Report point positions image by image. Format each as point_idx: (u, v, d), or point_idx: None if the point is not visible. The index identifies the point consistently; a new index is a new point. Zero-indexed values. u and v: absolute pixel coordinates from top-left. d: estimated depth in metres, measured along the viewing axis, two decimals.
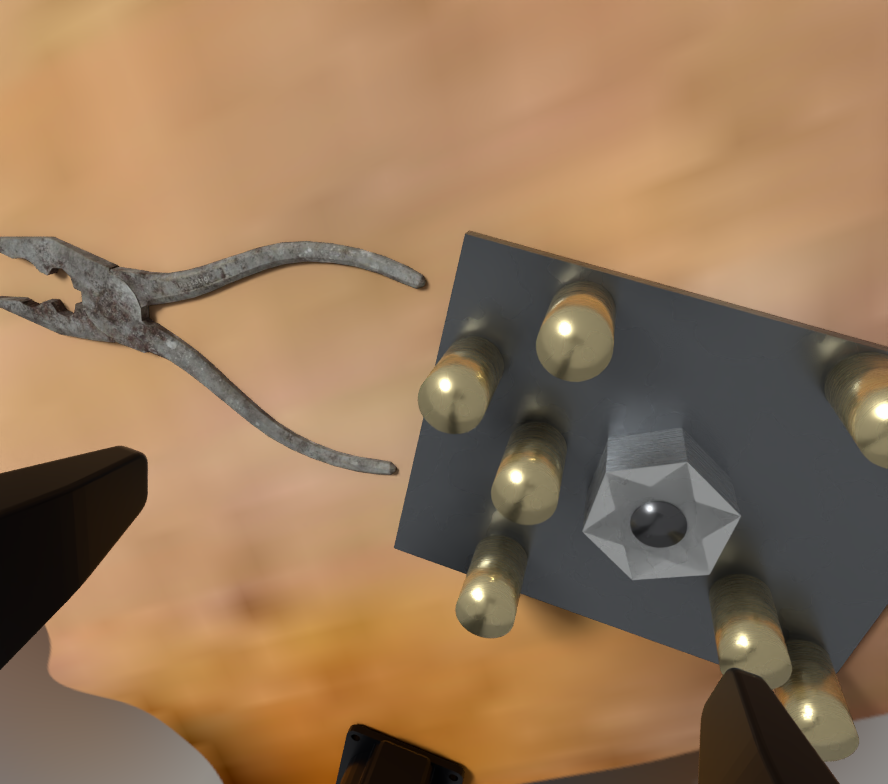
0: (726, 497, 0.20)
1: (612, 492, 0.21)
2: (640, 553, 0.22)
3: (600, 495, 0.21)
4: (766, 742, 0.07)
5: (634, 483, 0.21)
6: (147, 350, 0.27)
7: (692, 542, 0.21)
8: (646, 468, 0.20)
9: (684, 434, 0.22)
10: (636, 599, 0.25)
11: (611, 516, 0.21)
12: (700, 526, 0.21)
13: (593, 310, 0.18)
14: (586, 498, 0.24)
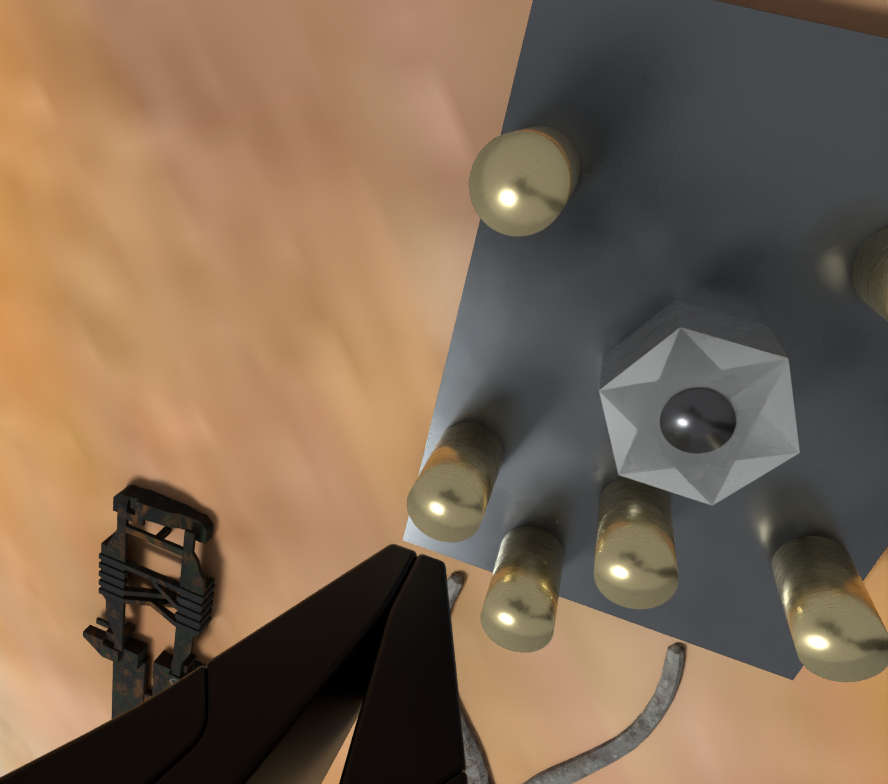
0: (658, 339, 0.16)
1: (648, 470, 0.17)
2: (749, 442, 0.16)
3: (652, 482, 0.17)
4: (399, 604, 0.08)
5: (633, 446, 0.17)
6: None
7: (730, 379, 0.15)
8: (610, 433, 0.17)
9: (604, 360, 0.18)
10: None
11: (686, 472, 0.17)
12: (699, 373, 0.16)
13: None
14: None
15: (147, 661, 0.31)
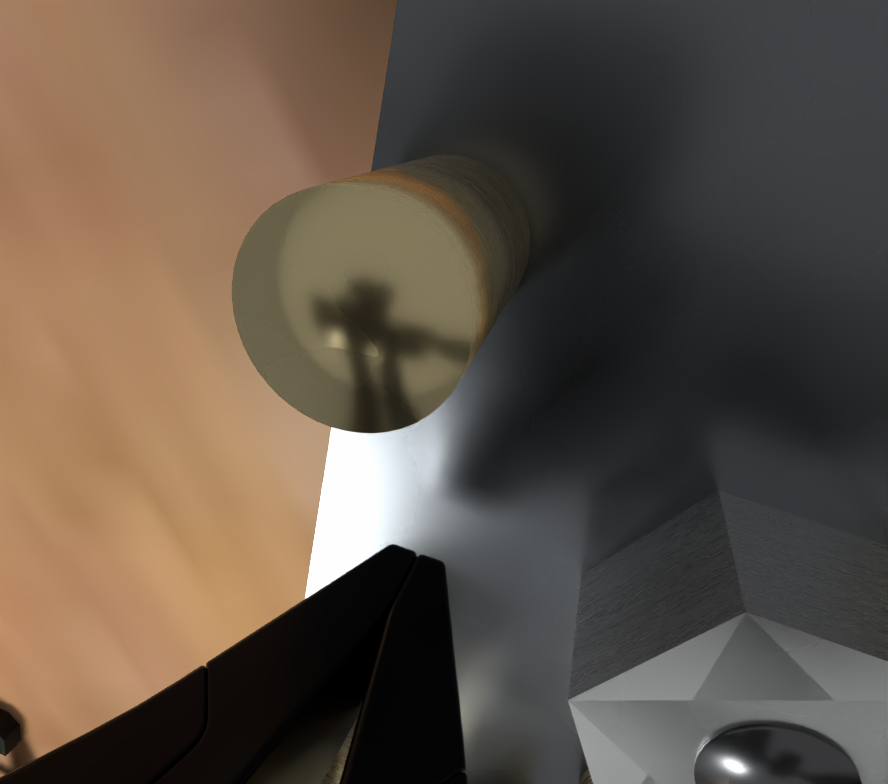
0: (693, 616, 0.07)
1: None
2: None
3: None
4: (399, 604, 0.08)
5: None
6: None
7: (853, 715, 0.07)
8: (592, 772, 0.08)
9: (583, 588, 0.10)
10: None
11: None
12: (784, 699, 0.07)
13: None
14: None
15: None
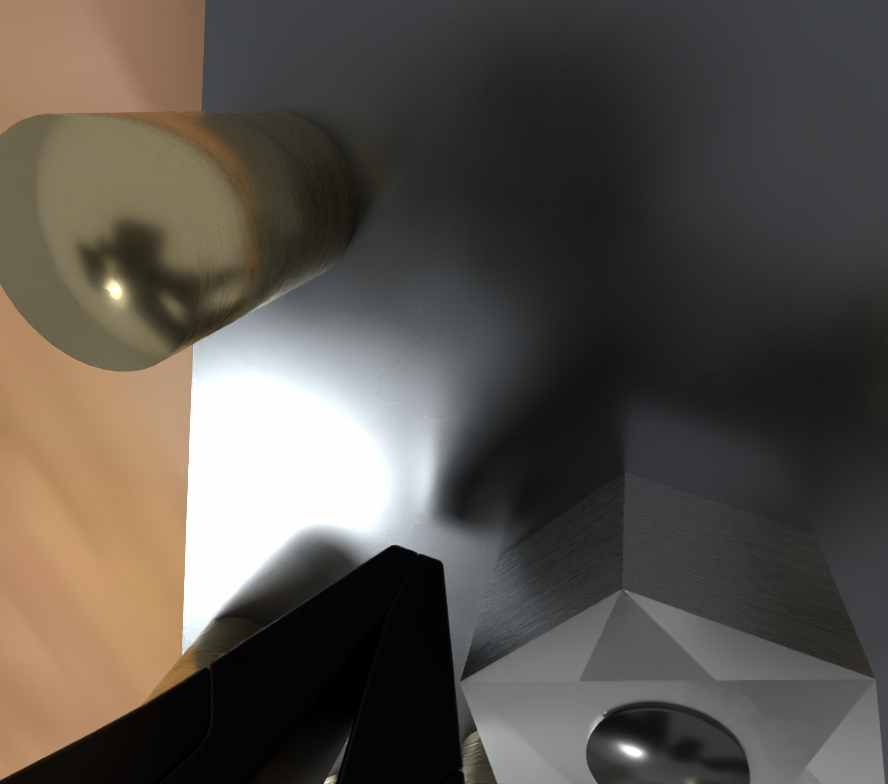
0: (578, 595, 0.07)
1: None
2: None
3: None
4: (397, 603, 0.08)
5: (537, 783, 0.08)
6: None
7: (738, 695, 0.07)
8: (489, 756, 0.08)
9: (495, 572, 0.10)
10: None
11: None
12: (667, 679, 0.07)
13: None
14: None
15: None
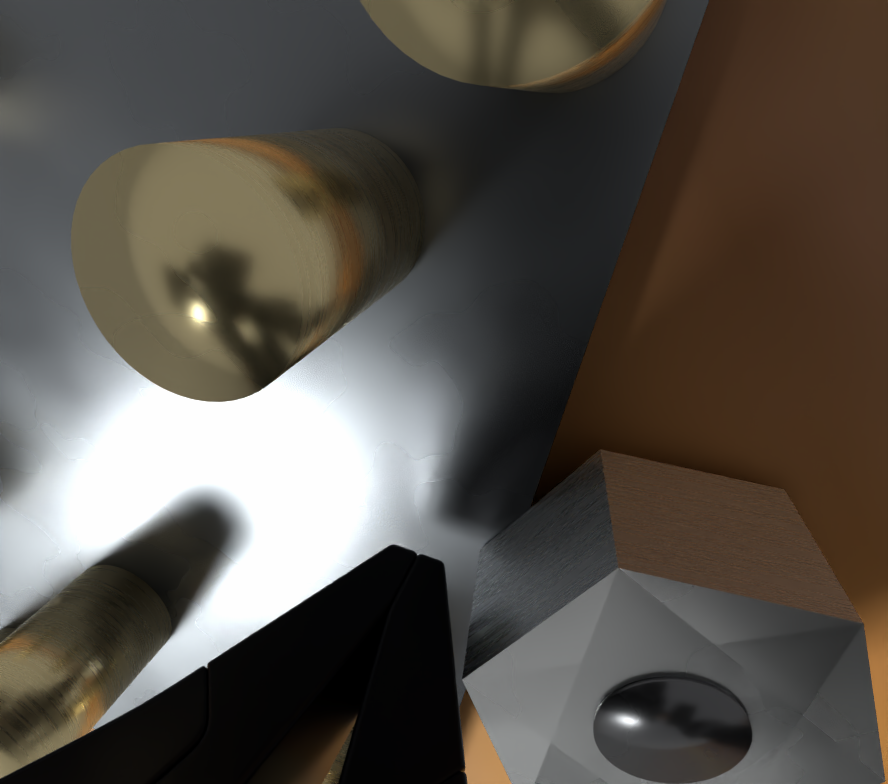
0: (573, 579, 0.07)
1: None
2: (779, 763, 0.08)
3: None
4: (398, 604, 0.08)
5: (546, 766, 0.08)
6: None
7: (736, 657, 0.07)
8: (497, 748, 0.08)
9: (481, 564, 0.09)
10: (419, 469, 0.10)
11: None
12: (667, 650, 0.07)
13: None
14: None
15: None
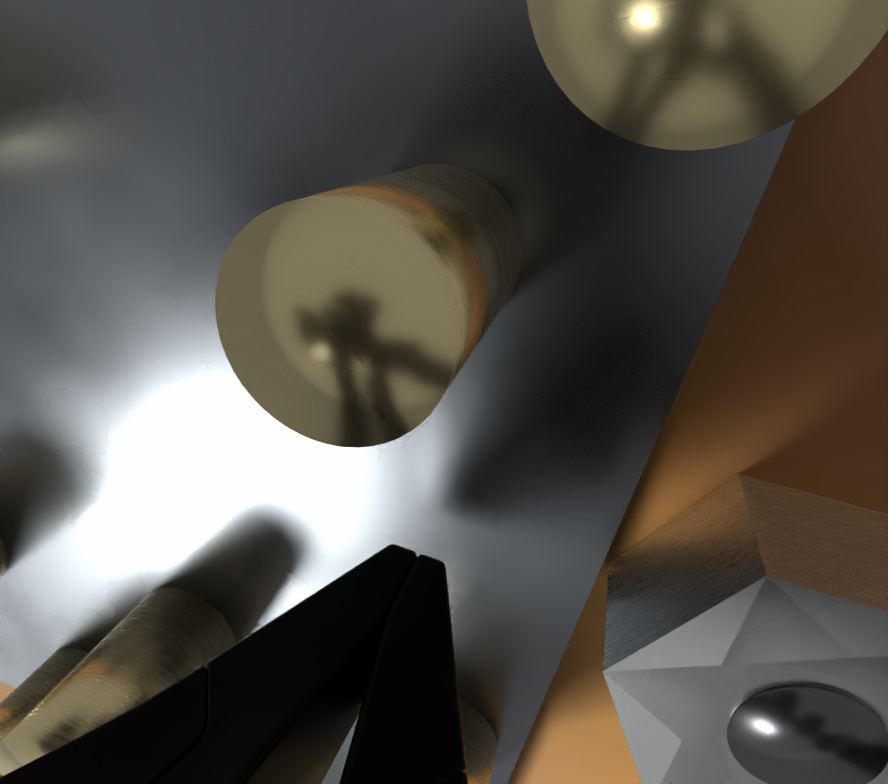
0: (717, 585, 0.08)
1: None
2: None
3: None
4: (399, 604, 0.08)
5: (676, 765, 0.09)
6: None
7: (877, 672, 0.07)
8: (629, 741, 0.09)
9: (612, 570, 0.10)
10: (502, 497, 0.10)
11: None
12: (809, 659, 0.07)
13: None
14: None
15: None
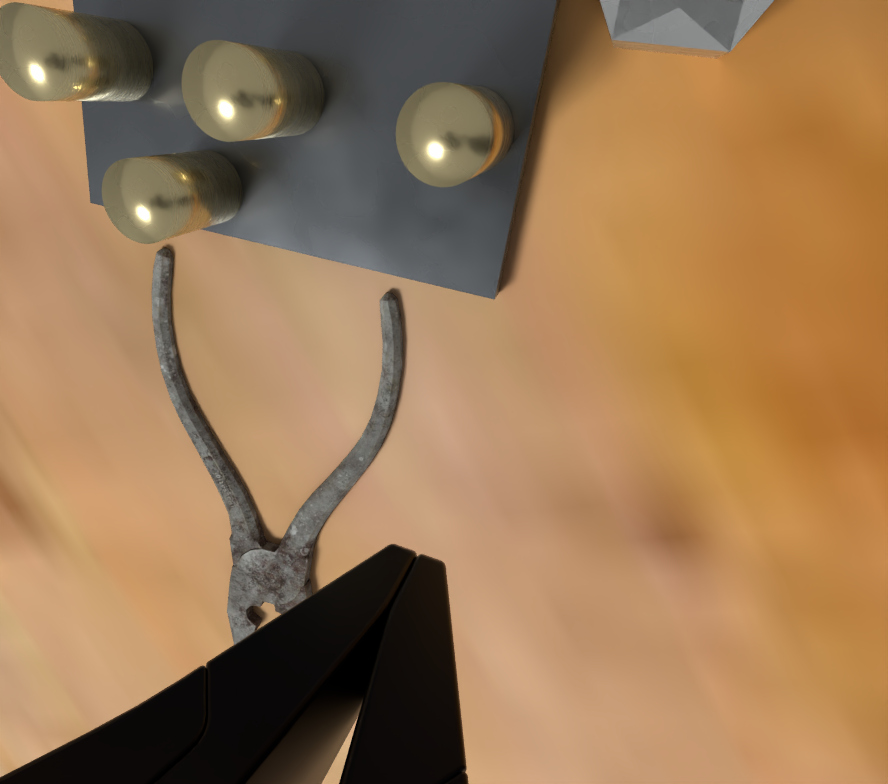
0: None
1: (646, 20, 0.14)
2: None
3: (654, 38, 0.14)
4: (399, 604, 0.08)
5: None
6: (304, 556, 0.26)
7: None
8: None
9: None
10: None
11: (693, 9, 0.14)
12: None
13: None
14: (714, 57, 0.16)
15: None
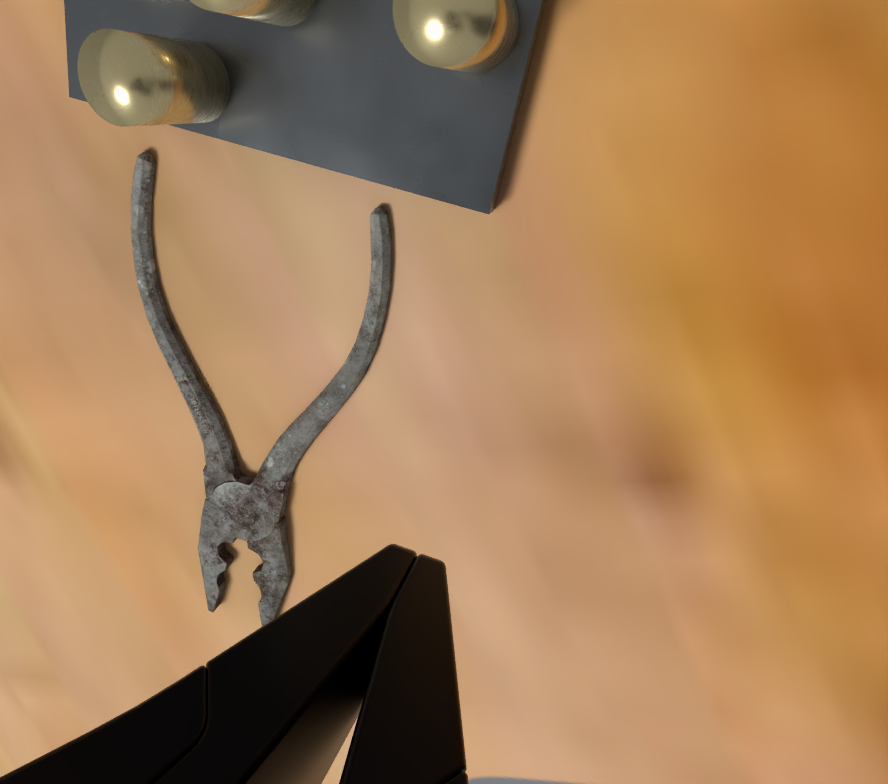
0: None
1: None
2: None
3: None
4: (399, 604, 0.08)
5: None
6: (280, 490, 0.25)
7: None
8: None
9: None
10: None
11: None
12: None
13: None
14: None
15: None
